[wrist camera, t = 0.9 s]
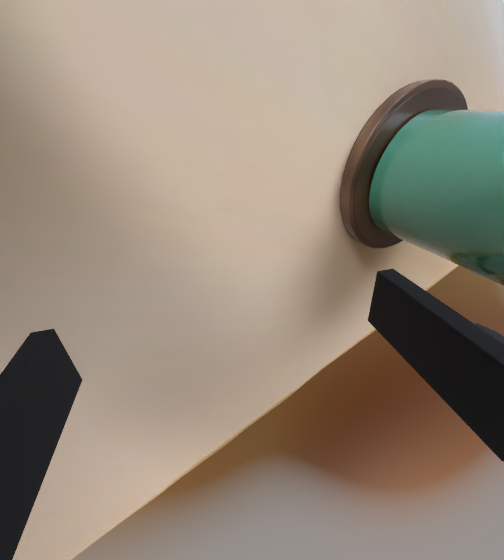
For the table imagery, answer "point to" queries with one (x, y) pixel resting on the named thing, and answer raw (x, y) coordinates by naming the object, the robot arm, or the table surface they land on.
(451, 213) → the pot
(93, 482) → the table surface
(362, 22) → the table surface
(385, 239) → the turntable
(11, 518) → the robot arm
